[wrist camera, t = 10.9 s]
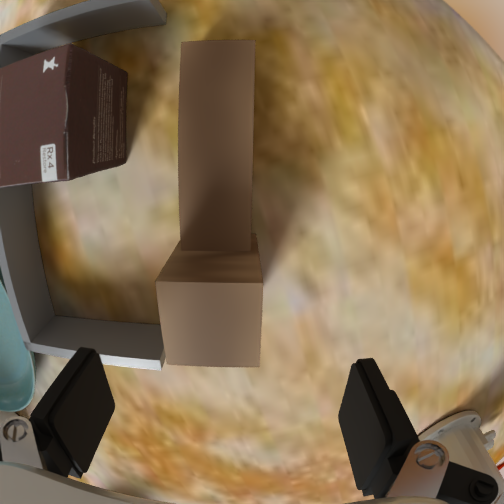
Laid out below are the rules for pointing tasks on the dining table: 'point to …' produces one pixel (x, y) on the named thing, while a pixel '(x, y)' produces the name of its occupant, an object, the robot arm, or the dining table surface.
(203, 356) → the brown l-shaped block
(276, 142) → the dining table surface
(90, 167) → the box
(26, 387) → the teal plate
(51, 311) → the open-sided frame
